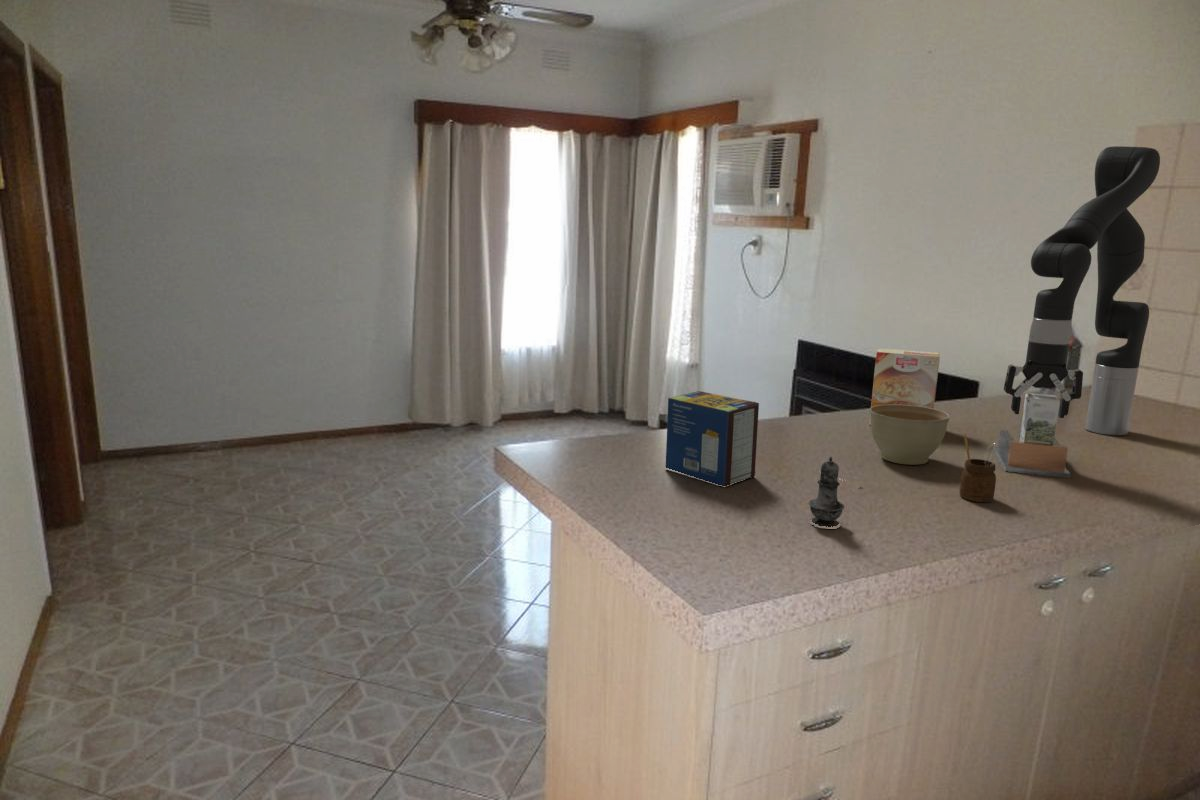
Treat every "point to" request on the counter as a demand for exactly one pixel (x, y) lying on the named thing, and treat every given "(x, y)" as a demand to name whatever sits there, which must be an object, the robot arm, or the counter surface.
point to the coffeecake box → (905, 378)
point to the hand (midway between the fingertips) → (1038, 415)
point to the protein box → (712, 437)
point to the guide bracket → (1032, 456)
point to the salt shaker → (827, 497)
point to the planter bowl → (907, 432)
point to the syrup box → (1039, 418)
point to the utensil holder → (978, 478)
